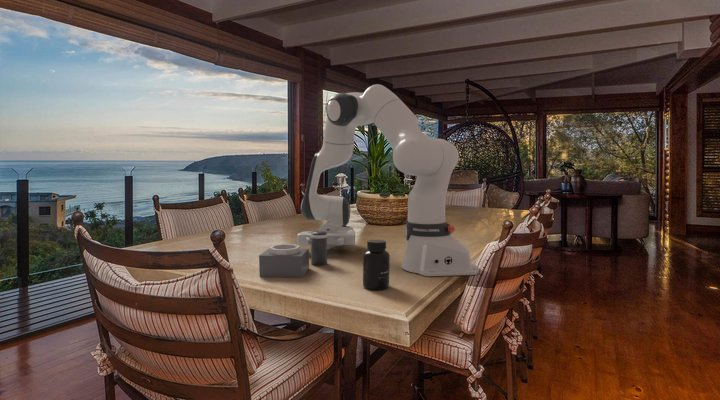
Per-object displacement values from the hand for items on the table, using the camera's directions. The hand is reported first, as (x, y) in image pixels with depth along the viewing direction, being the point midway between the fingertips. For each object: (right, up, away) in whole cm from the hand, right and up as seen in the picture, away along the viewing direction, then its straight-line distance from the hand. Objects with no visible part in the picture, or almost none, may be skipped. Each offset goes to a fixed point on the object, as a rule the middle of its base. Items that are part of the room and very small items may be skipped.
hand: (323, 242), depth 140 cm
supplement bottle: (+16, -9, -31) cm, 36 cm away
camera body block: (-10, -7, -17) cm, 20 cm away
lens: (-1, -6, -6) cm, 9 cm away
